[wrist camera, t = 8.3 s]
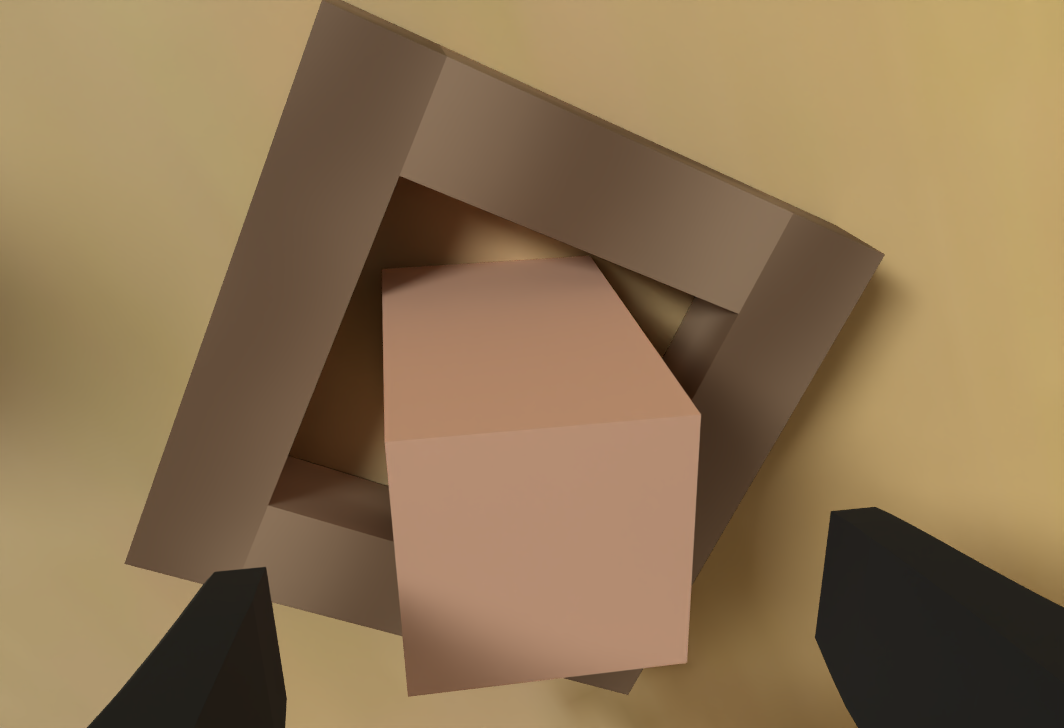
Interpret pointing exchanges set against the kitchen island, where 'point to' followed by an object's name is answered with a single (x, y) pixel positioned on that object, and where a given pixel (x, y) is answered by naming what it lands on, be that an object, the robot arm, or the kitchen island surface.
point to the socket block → (516, 195)
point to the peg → (533, 476)
